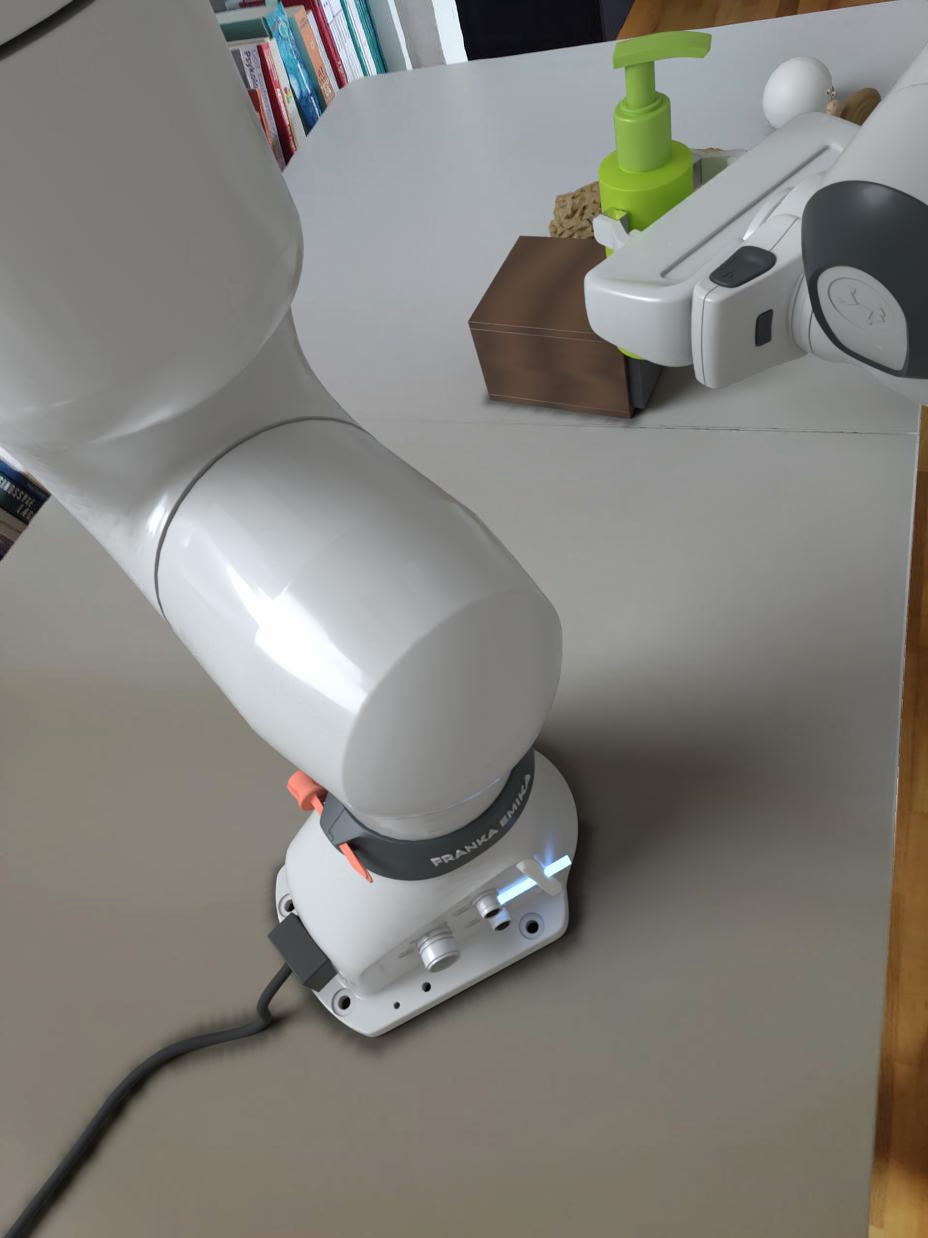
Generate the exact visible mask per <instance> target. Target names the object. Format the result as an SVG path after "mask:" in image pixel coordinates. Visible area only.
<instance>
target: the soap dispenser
mask: <svg viewBox="0 0 928 1238" xmlns="http://www.w3.org/2000/svg"><path fill="white" fill-rule="evenodd" d="M712 37H713V35H712V34H711V33H707V32H702V31H692V30H670V31H669V30H668V31H661V32H655V33H651V34H645V35H642V36H641V35H640V36H637V37H634V38H633V37H632V38H629V39H625V40H621V41H618V42H616V43H615V45H614V50H613V54H612V69H613V70H616V69H621V68H624V79H625V94H626V96H625V97H624V98H623V99H621V100H620V101H619V102H618V103H617V104H616V105H615V107H614V108H613V123H614V124H613V126H614V137H615V139H614V140H615V150H613V151H612V152H611V153H609V154H608V155H607V156H606V157H605V158H604V159H603V160H602V161H601V163H600V165H599V166H598V170H597V171H598V172H597V175H598V181H599V187H600V197H601V207H602V212H604V211H605V210H607V209H608V208H610V207H614V208H616V210H622V211H625V212H627V213H628V220H629V223H628V226H627V227H628V228H629V231H630V232H631V231H632V230H635V229H636V230H638V231H641V232H642V231H643V230H645V229H646V228H647V227H649V226H650V225H651V224H653V223H654V222H655V221H657V220H658V219H659V218H661V217H662V216H663V215H665V214H666V213H667V212H669V211H670V210H671V209H673V208H674V207H675V206H677V205H678V204H679V203H680V202H682V201H683V200H684V199H686V198H687V197H688V196H690V195H691V194H692V193H693V155H692V152H691V150H690V149H689V148H690V147H688V146H687V145H686V144H685V143H683V142H681V141H679V140H674V139H673V136H672V106H671V99H670V97H669V96H668V95H666V94H665V93H664V92H660V91H657V90H656V70H655V69H656V68H655V61H661V60H666V59H667V60H668V59H676V58H689V59H691V58H692V59H703V58H705V57H706V56H707V55H708V54H709V52H710V51H711V46H712ZM605 247H606V246H605ZM613 253H614V252H613V249H611V248H609V247H606V257H607V258H608V257H609V256H610V255H612V254H613ZM618 349H619V350H620V351H621V352H622V353H624V354H625V355H627V356H629V357H632V358H636V359H642V360H646V359H643V358H641V357H639V356H636V355H634V354H632V353H630V352H628V351H626V350H624V349H622V348H620V347H618Z"/></svg>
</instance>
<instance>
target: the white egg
mask: <svg viewBox="0 0 928 1238" xmlns="http://www.w3.org/2000/svg"><path fill="white" fill-rule="evenodd" d="M828 89H832V92H833V91H835V87H834V86H833V76H832V75H831V72H830V70H829V68H828V67H827V65H826V64H825V63H823V62H822V61H821V60H820V59H819V58H816V57H813V56H809V55H800V56H796V57H793V58H789V59H787V60H785V61H783V62H782V63H780V65H779V66H777V68H776V69H775V70H774V71H773V72H772V73H771V75H770V77H769V79H768V80H767V82H766V84H765V86H764V88H763V94H762V111H763V115H764V117H765V118H766V120H767V122H768V123H769V124H770V126H771V127H773V128H775V130H777V129H778V128H780V127H781V126H782V125H784V124H785V123H786V122H788V121H789V120H790V119H791V118H793V117H794V116H796V115H798V114H802V113H808V112H824V113H826V107H827V105H828V95H827V94H826V92H827V90H828ZM832 98H833V97H832V96H831V95H829V102H830V101H832Z"/></svg>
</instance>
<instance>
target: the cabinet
mask: <svg viewBox="0 0 928 1238" xmlns="http://www.w3.org/2000/svg"><path fill="white" fill-rule="evenodd" d="M606 258H607V257H606V247H605V246H604V245H602V244H600V243H598V242H597V240H596V239H583V238H562V237H551V236H541V235H539V236H538V235H536V236H535V235H519V236H518V238H517V240H516V241H515V242H514V244H513V246H512V248H511V249H510V251H509V253H508V254H507V256H506V258H505V259H504V261H503V262H502V264H501V265H500V268H498V271H497V272H496V273H495V276H494V277H493V279H492V281H491V282H490V284H489V286H488V287H487V289H486V291H484V293H483V296H482V297H481V299H480V300H479V302H478V303H477V306H476V307H475V309H474V310H473V312H472V313H471V316H470V317H469V318H468V320H467V324H468V328H469V331H470V334H471V338H472V341H473V345H474V349H475V352H476V356H477V359H478V362H479V365H480V369H481V373H482V375H483V380H484V383H485V386H486V391H487V393H488V397H489V400H490V401H497V402H505V403H511V404H519V405H526V406H533V407H541V408H547V409H555V410H562V411H571V412H577V413H584V414H591V415H598V416H599V415H600V416H607V417H614V418H621V419H622V418H623V419H629V420H630V419H631V418H632V416H633V414H634V412H635V409H636V408H635V407H632V403H631V394H630V384H629V375H628V366H627V356H626V355H625V354H624V353H622V352H621V351H620V350H619V349H618V347H617V346H616V345H614V344H612V343H610V342H608V341H606V340H605V339H603V338H601V337H600V336H598V335H597V334H596V333H595V332H594V331H593V329H592V328H591V326H590V323H589V320H588V315H587V310H586V305H585V295H584V279H585V276H586V274H587V273H588V272H589V271H590V270H591V269H593V268H594V267H596V266H597V265H598V264H600V263H601V262H602V261H604V260H605V259H606Z"/></svg>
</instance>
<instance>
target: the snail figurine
mask: <svg viewBox="0 0 928 1238" xmlns="http://www.w3.org/2000/svg"><path fill="white" fill-rule="evenodd" d="M826 94H827V95H828V105H827V107H826V111H825V113H827V114H830V115H833V116H836V117H839V118H842V119H844V120H847V121H850V122H852V123H854V124H857V125H859V126H862V125H863V123H864V122H865V121H866V119H867V118H868V117H869V116H870V114H871V113H872V112H873V110H874V109H875V108H876V107H877V105H878V104H879V103H880V101H881V100H882V96H881V93H880V92H879V90H877V89H876V88H874V87H864V88H861V89H859V90H858V91H856V92H855V93H853V94H852V95H851V96H850V97H849V98H848V99H847V100H846V102H845V103H844V104H843V106H842V102H841V100H839V99H837V96H838V91H837V90H834V91H833V92H832V89H828V90H827V92H826ZM829 95H831V96H832V97H831V98H832V99H831V101H830V102H829ZM835 98H836V99H835Z"/></svg>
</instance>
